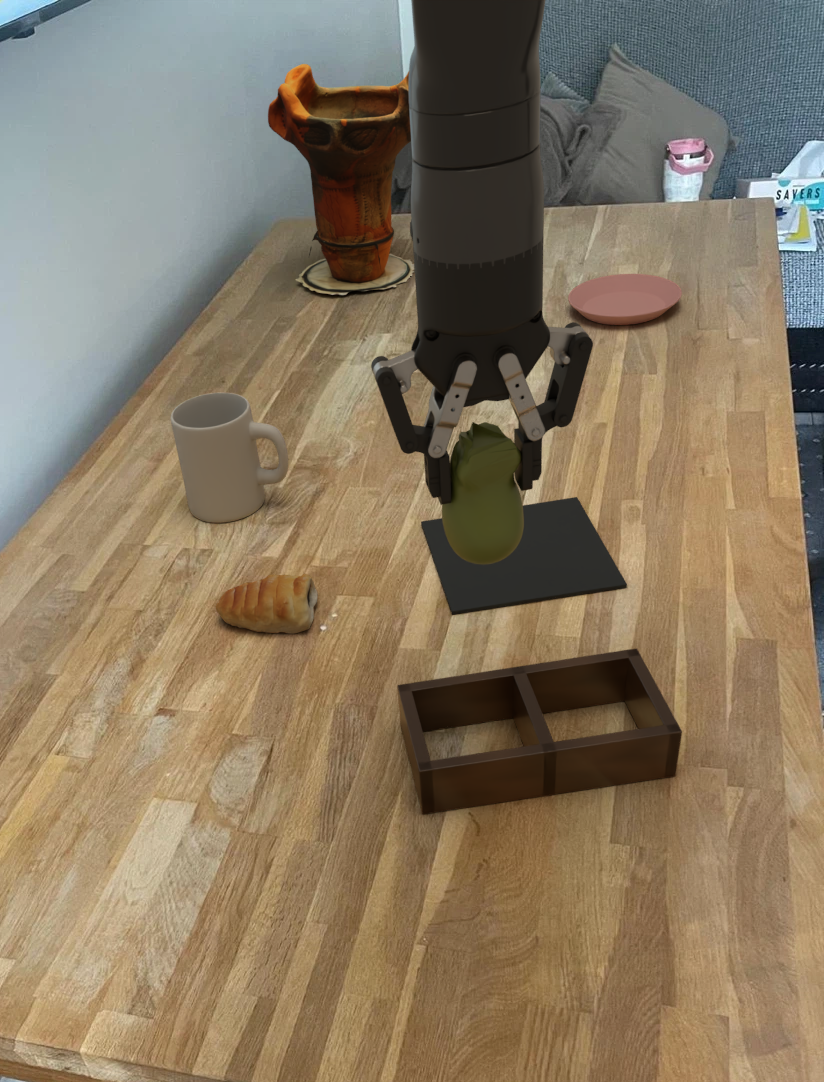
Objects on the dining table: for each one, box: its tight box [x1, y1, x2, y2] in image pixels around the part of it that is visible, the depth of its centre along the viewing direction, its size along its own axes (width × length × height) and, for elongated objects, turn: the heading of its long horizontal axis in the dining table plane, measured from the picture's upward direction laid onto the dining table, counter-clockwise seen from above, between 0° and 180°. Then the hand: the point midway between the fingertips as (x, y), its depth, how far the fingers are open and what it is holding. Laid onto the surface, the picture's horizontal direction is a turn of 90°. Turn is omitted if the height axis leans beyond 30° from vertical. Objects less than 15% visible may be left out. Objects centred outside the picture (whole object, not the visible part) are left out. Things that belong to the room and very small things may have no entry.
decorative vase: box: [267, 63, 415, 296], centre depth 157 cm, size 21×23×28 cm
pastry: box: [215, 573, 319, 634], centre depth 102 cm, size 9×7×4 cm
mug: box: [170, 391, 289, 524], centre depth 116 cm, size 12×8×11 cm
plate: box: [567, 273, 683, 326], centre depth 144 cm, size 14×14×2 cm
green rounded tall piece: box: [441, 421, 524, 564], centre depth 75 cm, size 6×5×10 cm
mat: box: [420, 496, 628, 615], centre depth 105 cm, size 16×16×1 cm
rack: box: [396, 648, 683, 815], centre depth 83 cm, size 19×10×4 cm, turn 95°
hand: (483, 490), depth 75 cm, fingers closed on green rounded tall piece, 5 cm apart
